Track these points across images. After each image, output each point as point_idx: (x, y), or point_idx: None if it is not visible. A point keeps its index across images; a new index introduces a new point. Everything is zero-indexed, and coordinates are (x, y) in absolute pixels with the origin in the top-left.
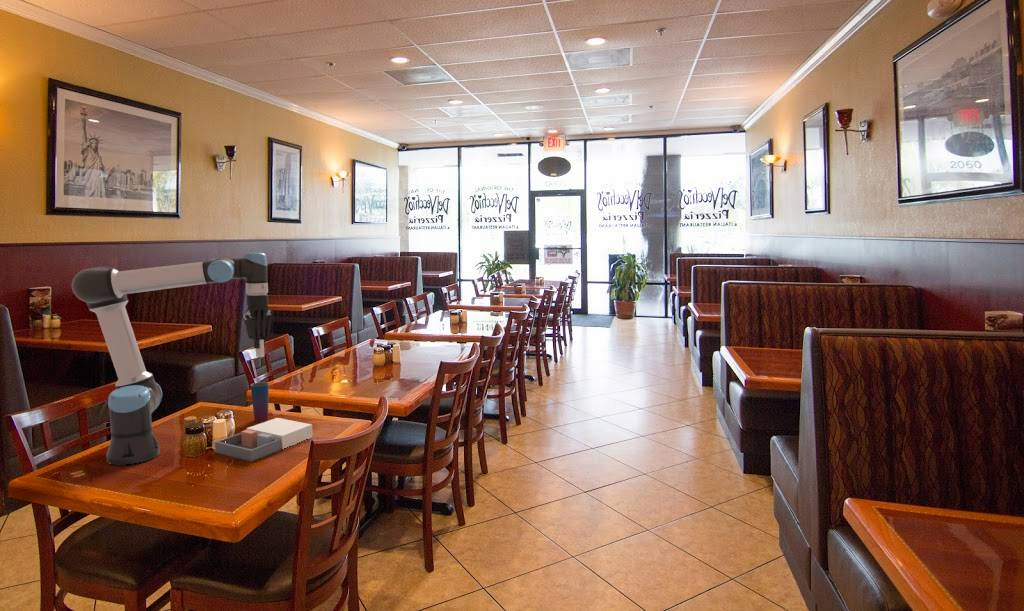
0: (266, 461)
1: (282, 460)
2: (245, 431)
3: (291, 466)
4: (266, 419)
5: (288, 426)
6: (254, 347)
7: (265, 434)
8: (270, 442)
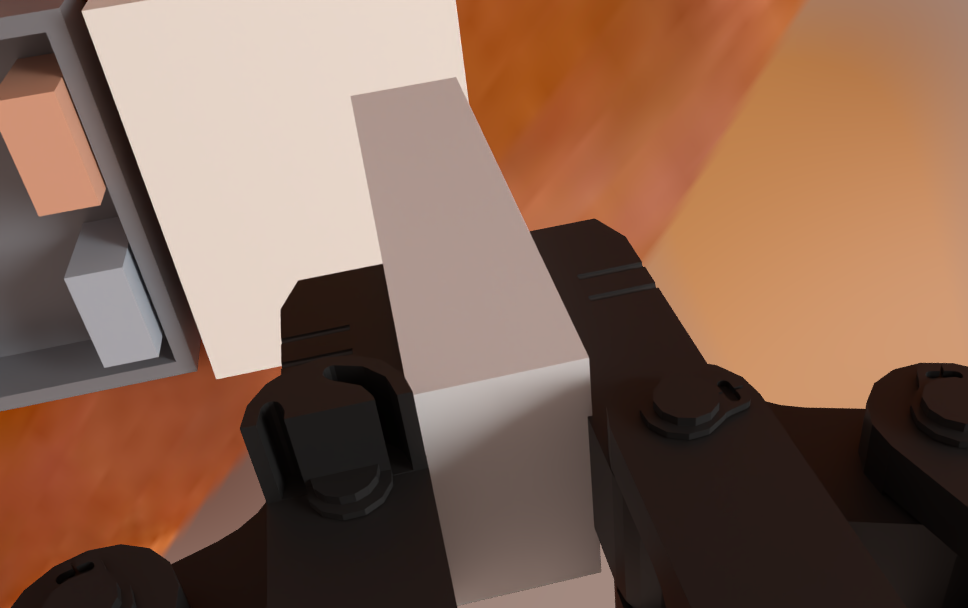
0: (51, 412)
1: (132, 453)
2: (22, 130)
3: (129, 539)
4: None
5: (363, 240)
6: (282, 309)
7: (123, 310)
8: (119, 377)
